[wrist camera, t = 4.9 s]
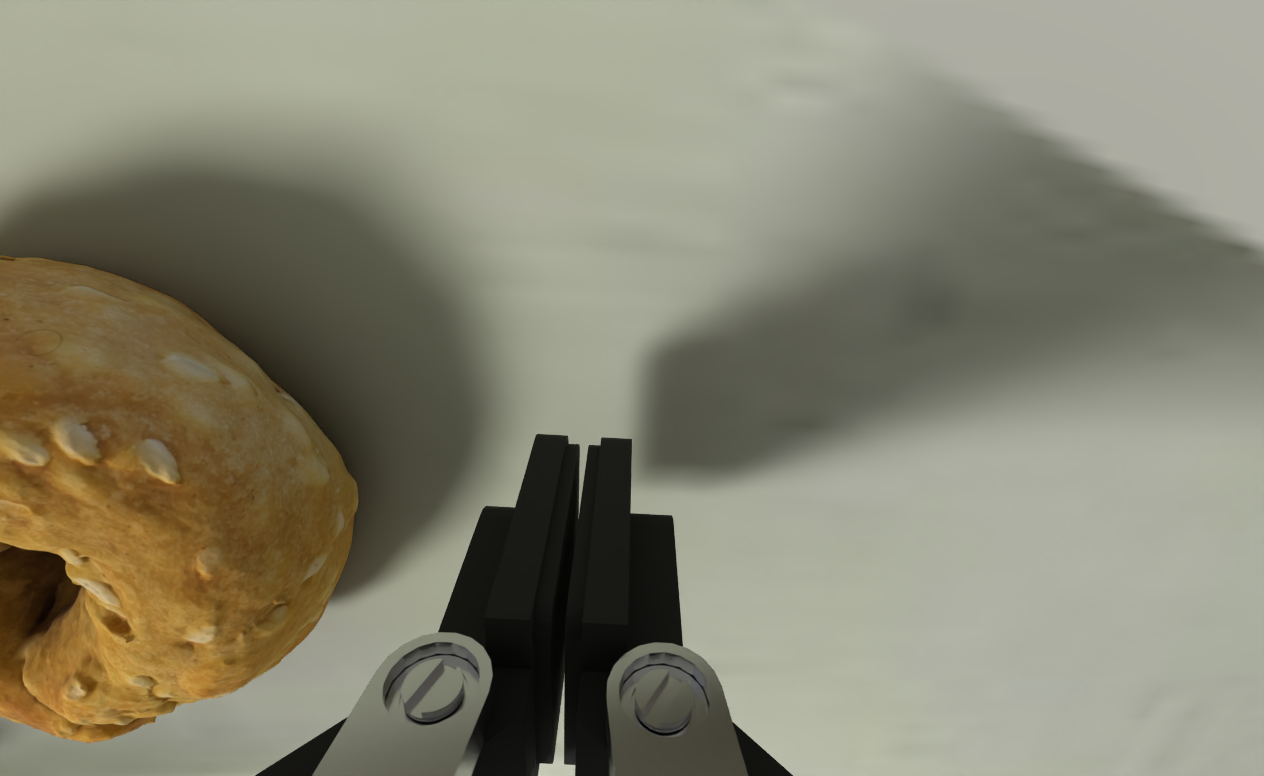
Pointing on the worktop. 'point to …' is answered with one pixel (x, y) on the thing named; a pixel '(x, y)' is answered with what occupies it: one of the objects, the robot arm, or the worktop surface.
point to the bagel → (148, 506)
